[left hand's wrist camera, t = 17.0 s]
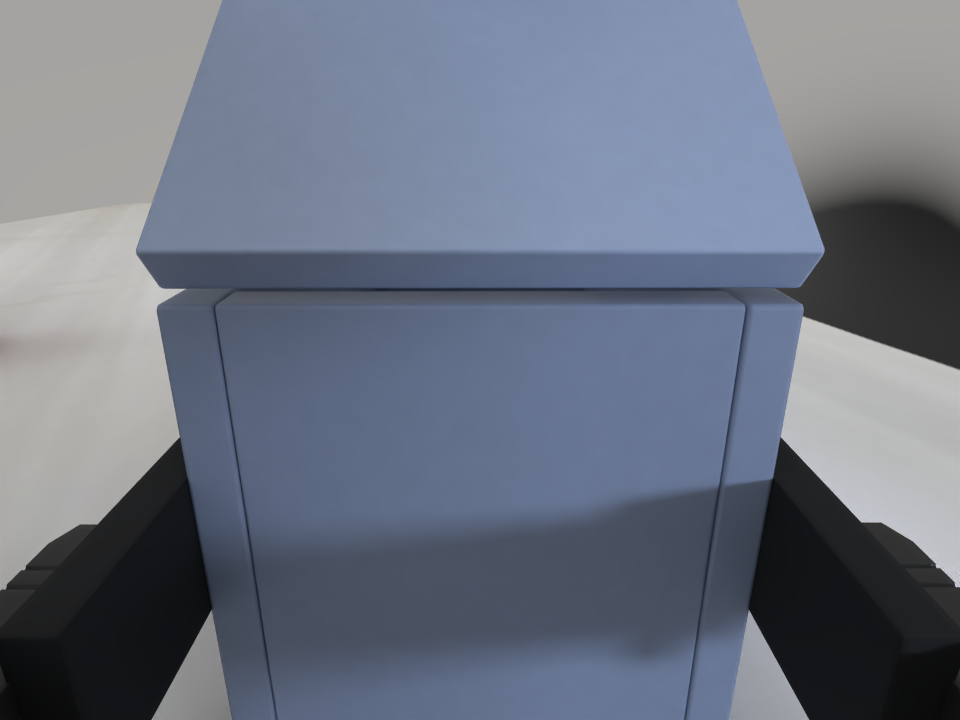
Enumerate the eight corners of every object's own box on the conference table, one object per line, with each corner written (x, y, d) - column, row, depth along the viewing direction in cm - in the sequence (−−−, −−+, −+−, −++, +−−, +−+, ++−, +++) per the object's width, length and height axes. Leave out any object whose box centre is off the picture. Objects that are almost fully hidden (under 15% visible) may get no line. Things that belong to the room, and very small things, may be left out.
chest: (367, 454, 28) (349, 192, 24) (591, 454, 28) (609, 192, 24) (247, 816, 13) (153, 304, 9) (713, 815, 13) (807, 304, 9)
